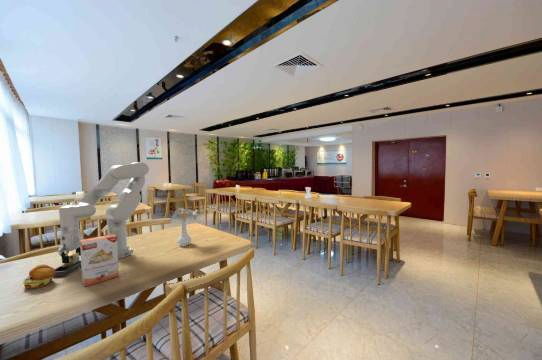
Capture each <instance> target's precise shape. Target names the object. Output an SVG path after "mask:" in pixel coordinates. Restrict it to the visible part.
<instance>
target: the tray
mask: <svg viewBox="0 0 542 360" xmlns="http://www.w3.org/2000/svg"><path fill="white" fill-rule="evenodd" d="M79 261H80V262H79V263H77V264H75V265H72V266H65V265H64V263H62V264H61V265H59V266H58V267H55V268H54V269H55V271H56V273H55V275H54V276H53V277H54V278H55V277H56V278H61V277H63V278H64V277H66V276H67V275H69V274H71V273H73V272H74V271H76V270H77V269H80V268H81V259H79Z"/></svg>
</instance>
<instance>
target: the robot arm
mask: <svg viewBox="0 0 542 360" xmlns="http://www.w3.org/2000/svg"><path fill="white" fill-rule="evenodd" d="M149 171H150V167H149V165H148V164H147V163H145V162H143V161H135V162H131V163H130V164H123V165H122V164H121V165H119V164H118V165H117V164H116V165H115V164H114V165H112V166H111V167H110V168H108V170H107V171H106V172H105V173H104V175H102V176H101V178H100V179H99V180H98V182H97V183H96V184H95V185H94V186H93V187H91V189H90V190H88V191H87V192H86V194H85V195H84V196H83V197H82V198H81V199H80V201H79V202H78V203H77V204H76V205H73V204H69V205H67V204H66V205H63V206H60V207H59V208H58V213H59V224H60V239H59V240H60V241H59V243H60V245H59V246H60V247H59V248H58V249H57V253H58V255H59V256H60V257H61V264H64V263H69V255H68V254H69V253H70V252H73V251H74V250H75V253H79V257H81V249H80V240H84V239H85V238H83V235H82V231H81V229H80V223H79V219H80V218H81V219H82V218H84V219H85V218H90V217H93V216H94V215H95V214H96V212H97V209H96V207H95V206H96V205H97V203H98V202H99V201H100V200H101V199H103V198H104V197H106V196H108V195H109V194H110V193H111V192H112V191H113V190H114V189H115V188H116V186H118V184H119V183H120V181H124V180H129V181H128V183H127V184H126V186H125V187H124V188H123V189H122V191H121V192H120V193H119V194H118V201H119V203H118V204H115V203H114V204H111V205H110V206H108V207H107V209H106V210H105V219H106V226H107V235H112V234H114V235H116V236H117V246H118V260H120V259H123V258H126V257H129V256H130V255H131V254H133V253H134V248H130V246H128V240H127V239H128V238H127V237H128V235H127V221H128V220H129V219H130V218H131V216H132V215H133V213H134V212H135V211H136V210H137V207H139V205H140V203H141V201H142V196H141V191H142V190H143V188H144V186H145V183H146V175H147V174H148V173H149Z"/></svg>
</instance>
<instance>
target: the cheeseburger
mask: <svg viewBox="0 0 542 360" xmlns="http://www.w3.org/2000/svg"><path fill="white" fill-rule="evenodd" d="M55 269H56V268H54V267H51V266H49V265H47V264H38V265H36V266H35V267H33V268H31V269H30V270H29V272H28V276H27V277H26V278H25V279H23V282H22V283H23V285H24V286H23V287H25V288H26V289H30V290H31V289H32V290H33V289H38V288H41V287H44V286H46V285H49V284H50V283H51V282H52V280H53V279H55V277H53V276H54V275H55V273H56V271H55Z"/></svg>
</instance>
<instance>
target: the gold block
mask: <svg viewBox="0 0 542 360" xmlns="http://www.w3.org/2000/svg"><path fill="white" fill-rule="evenodd" d="M68 255H69V263H63V264H64V265H65V266H72V265H75V264H77V263H79V262H80V256H79V253H76V252H69V253H68Z"/></svg>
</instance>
